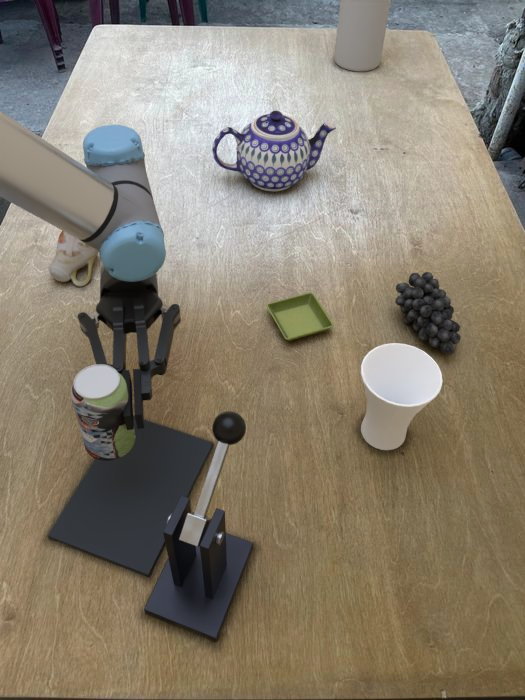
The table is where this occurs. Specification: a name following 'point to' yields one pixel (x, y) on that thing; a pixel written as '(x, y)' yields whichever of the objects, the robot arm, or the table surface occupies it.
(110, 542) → the slate mat
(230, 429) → the tap lever
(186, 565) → the bracket
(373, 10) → the cylinder vase
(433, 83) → the table surface
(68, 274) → the mug
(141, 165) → the robot arm
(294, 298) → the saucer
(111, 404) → the beverage can
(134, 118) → the table surface
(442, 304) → the fruit
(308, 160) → the teapot
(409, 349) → the cup
